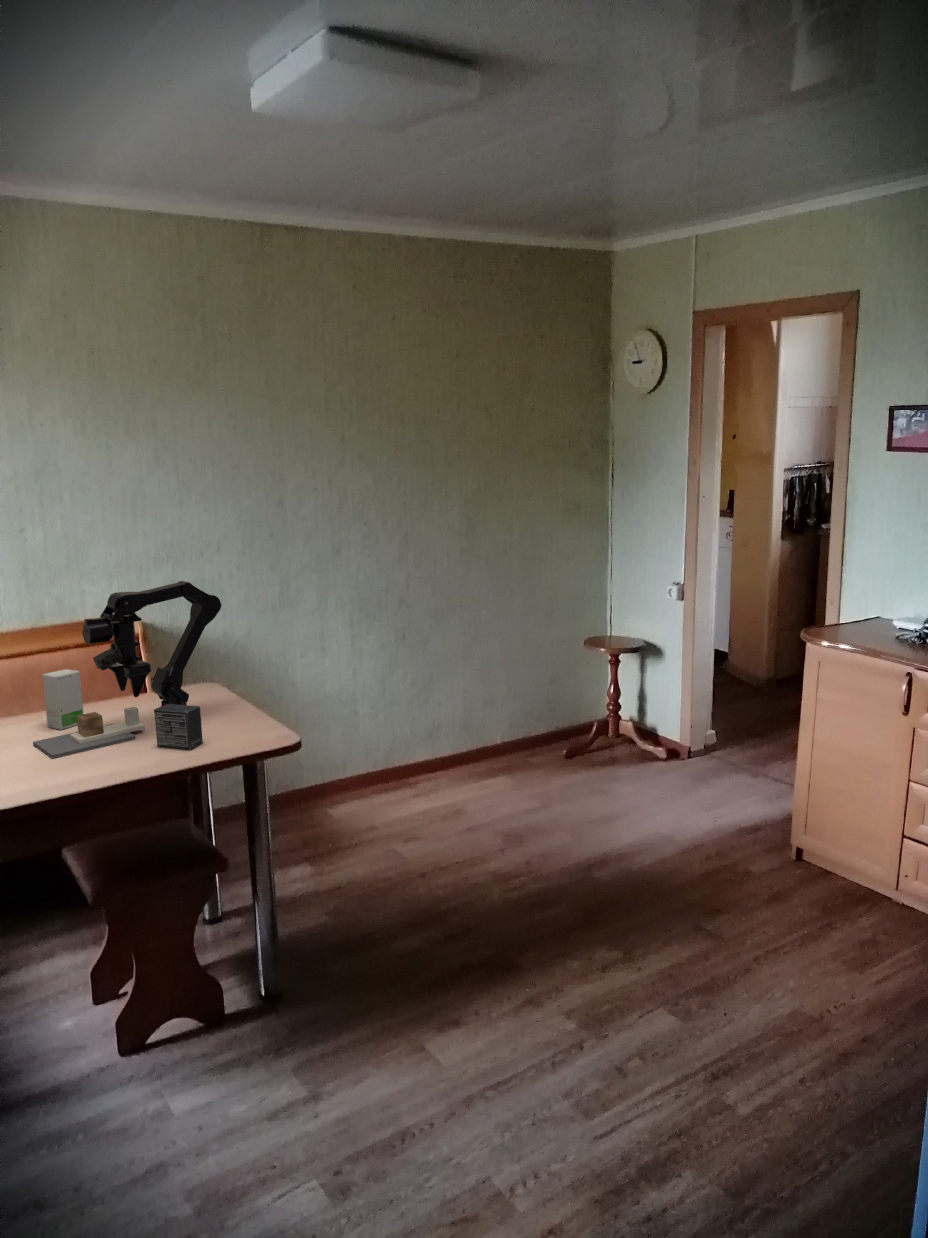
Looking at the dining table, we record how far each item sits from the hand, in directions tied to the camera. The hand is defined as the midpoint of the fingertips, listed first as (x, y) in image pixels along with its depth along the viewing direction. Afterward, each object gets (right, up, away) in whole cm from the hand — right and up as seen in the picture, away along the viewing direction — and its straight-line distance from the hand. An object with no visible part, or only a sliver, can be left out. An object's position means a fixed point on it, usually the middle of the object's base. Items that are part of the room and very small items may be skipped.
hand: (129, 693), depth 267 cm
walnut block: (-8, -10, -6) cm, 14 cm away
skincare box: (-21, -10, +9) cm, 25 cm away
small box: (+17, -13, -10) cm, 24 cm away
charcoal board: (-10, -13, -6) cm, 17 cm away
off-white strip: (-5, -11, -2) cm, 12 cm away
